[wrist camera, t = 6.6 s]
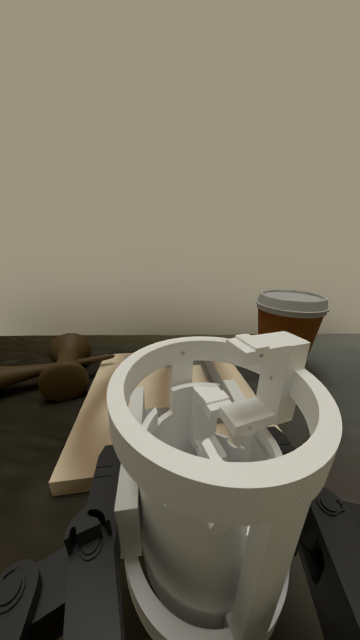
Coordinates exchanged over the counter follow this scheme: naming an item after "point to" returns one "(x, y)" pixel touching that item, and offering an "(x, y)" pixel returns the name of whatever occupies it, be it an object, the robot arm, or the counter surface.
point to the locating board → (93, 417)
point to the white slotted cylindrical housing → (220, 484)
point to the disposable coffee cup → (291, 313)
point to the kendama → (58, 369)
